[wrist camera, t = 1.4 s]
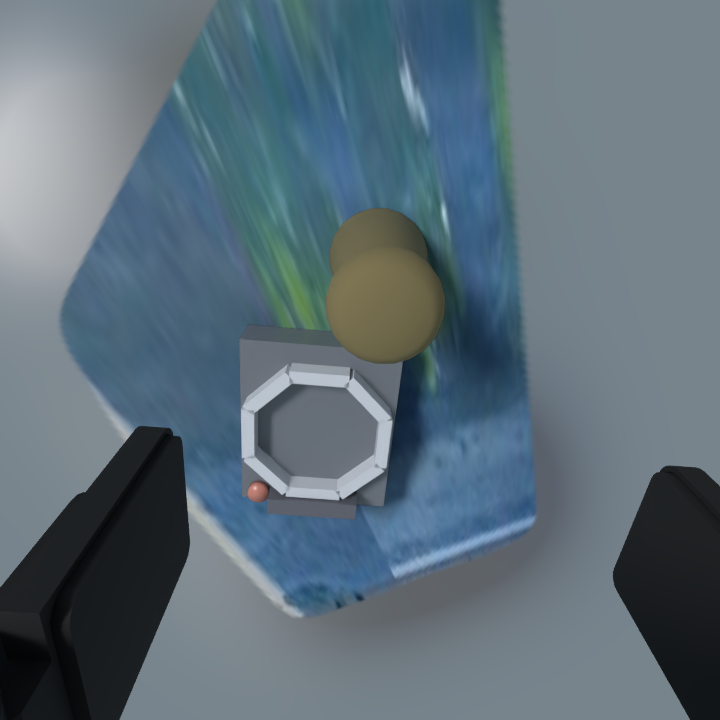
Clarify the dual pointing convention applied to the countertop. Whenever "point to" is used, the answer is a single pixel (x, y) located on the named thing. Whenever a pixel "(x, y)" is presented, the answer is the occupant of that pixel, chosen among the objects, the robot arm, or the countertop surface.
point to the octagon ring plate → (314, 423)
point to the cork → (383, 288)
